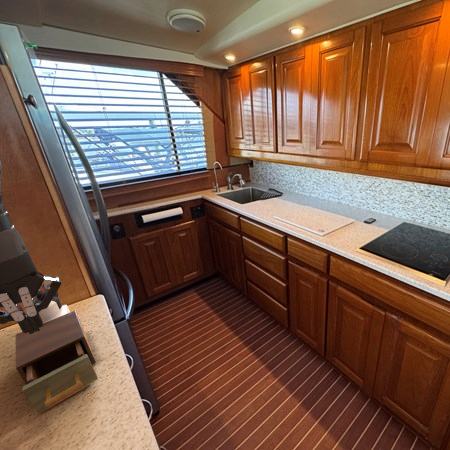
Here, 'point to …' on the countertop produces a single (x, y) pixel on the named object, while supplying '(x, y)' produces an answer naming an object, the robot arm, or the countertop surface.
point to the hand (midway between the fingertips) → (34, 330)
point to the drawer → (58, 376)
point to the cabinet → (50, 341)
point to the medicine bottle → (53, 310)
